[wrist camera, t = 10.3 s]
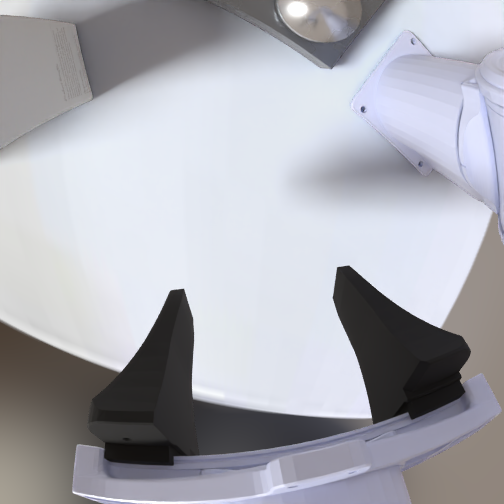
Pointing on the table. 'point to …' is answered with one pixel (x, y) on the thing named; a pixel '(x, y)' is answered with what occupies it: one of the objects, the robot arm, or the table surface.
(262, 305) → the table surface
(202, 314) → the table surface
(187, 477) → the robot arm
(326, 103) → the table surface
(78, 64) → the skincare box
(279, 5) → the grey base with frame
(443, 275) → the table surface
